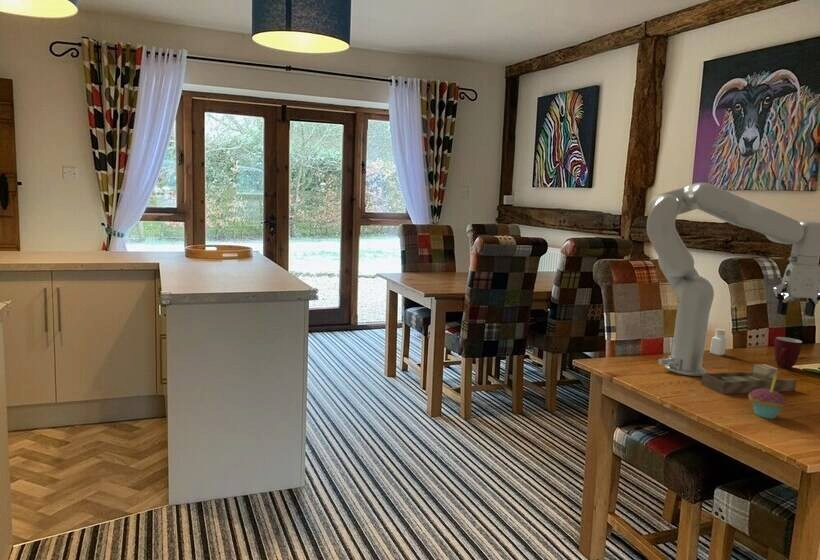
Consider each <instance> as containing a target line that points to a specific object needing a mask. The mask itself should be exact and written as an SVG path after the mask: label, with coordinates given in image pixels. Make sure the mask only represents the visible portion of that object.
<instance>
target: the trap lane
mask: <svg viewBox="0 0 820 560" xmlns="http://www.w3.org/2000/svg"><path fill="white" fill-rule="evenodd" d="M752 375H753V371H737V372H735V371H734V372H732V371H731V372H706V373H702V376H701V381H700V385H702V386H704V387H706V388H708V389H711V390H712V391H715V392H718V393H720V394H722V395H724V394H726V395H727V394H745V393H746V394H749V393H750V392H751V391H753V390H754V389H755V390H756V389H758V388H765V389H769V390H770V388H771V385H772V381H773V380H759V379H756V378H753V377H752ZM796 386H797V379H796V378H789V379H788V378H783V379H778V378H777V379H776V382H775V385H774V389H773V391H776V392H795V391H796Z"/></svg>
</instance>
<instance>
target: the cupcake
mask: <svg viewBox="0 0 820 560" xmlns="http://www.w3.org/2000/svg"><path fill="white" fill-rule="evenodd" d="M776 375H778V373H777V374H776ZM776 375H775V377H774V378H773V381H772V385H771V388H770V390H769V389H765V388H758V389H756V390H755V389H754V390H753V391H751V392H750V393H748V396H747V397H748V400H750V402H752V406H753V411H754V414H755V415H756V416H758V417H761V418H764V419H776V417H777V415H778V414H779V412H780V411H781V409H782V408H783V407H786V398H785V397H784V396H783V394H781V393H779V392H780V391H773V389H774V385H775V382H776V380H777V379H778V378H777V377H778V376H777V377H776Z"/></svg>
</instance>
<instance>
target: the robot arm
mask: <svg viewBox="0 0 820 560" xmlns="http://www.w3.org/2000/svg"><path fill="white" fill-rule="evenodd" d="M647 210H648V213H649V214H648V216H647V219H646V233H647V238H648V239H649V241H650V243H651V245H652V246H653V248H654V251H655V252H656V254H657V256H658V257H657V262H658V266H659V268H660V270H661V272H662V274H663V275H664V277H665V279H666V280H667V282H668V284H669V285H670V287H671V288H672V290H673V292H674V294H675V295H676V296H677V297H678V298H679V303H678V306H677V311H676V316H675V325H674V331H673V332H674V333H673V340H672V346H671V354H670V355H669V354H668V357H666V358H659V359H658V360H657V362H658V364H659V366H660V365H661V366H662V365H664V368H665V369H666V370H667V371H670V372H672V373H675V374H679V375H682V376H683V375H684V376H690V377H702V373H707V370H706V369H705V368H704V367H703V360H704V353H705V345H706V340H707V331H708V326H709V325H708V324H709V318H710V312H711V309H712V306H713V302H714V297H715V291H714V287H713V285H712V283H711V282H710V281H709V280H708V279H706V278H705V277H703V276H700V274H699V272H698V271H697V270H696V268H695V260H694V256H693V255H692V254H691V252H690V250H689V249H688V248H687V246H686V244H685V243H684V241H683V240H682V238H681V237H680V234H679V232H678V230H677V229H676V228H677V227H676V220H677V218H678V216H679V215H682V214H685V213H688V212H692V211H694V210H700V211H702V212H703V213H705V214H708V215H710V216H712V217H715V218H717V219H718V220H719V219H720V220H722V221H724V222H726V223H728V224H729V225H733V226H736V227H739V228H744V229H749V230H752V231H755V232H758V233H760V234H762V235H764V236H765V237H766V238H767V240H769V241H770V242H773V243H778V244H783V245H792V246H791V252H790V256H789V257H788V258H787V261H788V262H789V264H787V265H786V268H785V271H784V274H783V277H782V281H781V283H780V284H778V285H775V286H774V287H772V288H773V289H772V290H773V293H774V297H775V298H776V301H778V302H777V307H776V308H777V309H776V314H779V315H782V316H786V315H787V310H788V305H789V303H788V301H789V300H790V299H791V298H798V299H806V302H805V308H804V312H803V314H804V315H805V316H809V317H814V315H815V309H816V305H818V304H819V302H820V266H819V262H820V222H816V221H806V220H805V221H804V220H803V221H798V220H796V219H794V218H792V217H790V216H787V215H784V214H783V213H780V212H778V211H775V210H773V209H770V208H768V207H765V206H763V205H760V204H758V203H756V202H754V201H750V200H748V199H746V198H744V197H741V196H739V195H737V194H734V193H731V192H730V191H728V190H725V189H722V188H720V187H718V186H716V185H714V184H711V183H708V182H696V183H695V182H694V183H691V184H690V185H686V186H684V187H683V186H682V187H680V188H679V187H678V188H676V189H672V190H670V191H666V192H663V193H660V194H655V196H653V197H652V198H651V199H650V200H649V202H648V204H647Z"/></svg>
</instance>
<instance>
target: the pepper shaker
mask: <svg viewBox="0 0 820 560" xmlns="http://www.w3.org/2000/svg"><path fill="white" fill-rule="evenodd" d="M726 331H727V330H726V329H724V328H715V332H714V333H715V334H714V336H712V337H711V341H710V348H709V349H710V350H709V353H710V354H711V353H712V355H715V356H719V357H720V356H724V355H725V354H726V348H727V342H728V341H727V338H726V337H725V336H726Z"/></svg>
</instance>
